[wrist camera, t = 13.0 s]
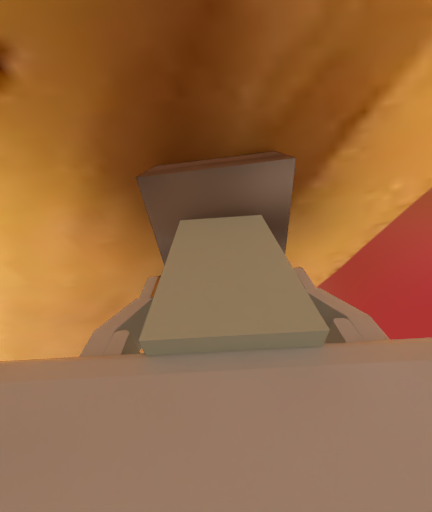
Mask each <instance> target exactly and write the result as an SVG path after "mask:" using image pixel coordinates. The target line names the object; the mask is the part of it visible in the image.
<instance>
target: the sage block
mask: <svg viewBox="0 0 432 512" xmlns="http://www.w3.org/2000/svg"><path fill="white" fill-rule="evenodd" d="M329 331H330V330H329V328H328V326H327V325H326V323H325V321H324V320H323V318H322V316H321V315H320V313H319V311H318V309H317V308H316V306H315V304H314V303H313V301H312V299H311V298H310V296H309V294H308V293H307V291H306V289H305V288H304V286H303V284H302V283H301V281H300V279H299V278H298V276H297V274H296V272H295V271H294V269H293V267H292V266H291V264H290V262H289V261H288V259H287V257H286V256H285V254H284V252H283V251H282V249H281V247H280V246H279V244H278V242H277V241H276V239H275V237H274V235H273V234H272V232H271V230H270V229H269V227H268V225H267V224H266V222H265V220H264V219H263V217H262V215H252V216H237V217H222V218H207V219H192V220H180V222H179V225H178V228H177V231H176V234H175V237H174V240H173V243H172V246H171V248H170V251H169V254H168V257H167V260H166V263H165V266H164V269H163V272H162V275H161V277H160V280H159V283H158V286H157V289H156V292H155V295H154V298H153V301H152V303H151V306H150V309H149V312H148V315H147V318H146V321H145V324H144V327H143V330H142V332H141V335H140V338H139V343H140V345H141V347H142V349H143V351H144V353H145V355H146V356H152V355H170V354H188V353H206V352H224V351H242V350H261V349H279V348H297V347H315V346H323V344H324V342H325V340H326V338H327V335H328V333H329Z"/></svg>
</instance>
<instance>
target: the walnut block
mask: <svg viewBox="0 0 432 512" xmlns="http://www.w3.org/2000/svg"><path fill="white" fill-rule="evenodd" d="M295 163H296V158H294V157H291V156H288V155H285V154H282V153H279V152H276V151H272V152H264V153H256V154H248V155H240V156H232V157H224V158H216V159H208V160H200V161H192V162H184V163H176V164H168V165H160V166H154V167H153V168H151V169H149V170H148V171H146V172H144V173H143V174H141V175H139V176H138V177H136V180H137V183H138V186H139V189H140V192H141V195H142V198H143V201H144V204H145V207H146V210H147V213H148V216H149V219H150V222H151V225H152V229H153V232H154V235H155V238H156V241H157V244H158V247H159V250H160V253H161V256H162V259H163V262H164V265H165V263H166V260H167V257H168V254H169V251H170V248H171V246H172V243H173V240H174V237H175V234H176V231H177V228H178V225H179V222H180V220H192V219H207V218H222V217H237V216H252V215H262V217H263V219H264V220H265V222H266V224H267V225H268V227H269V229H270V230H271V232H272V234H273V235H274V237H275V239H276V241H277V242H278V244H279V246H280V247H281V249H282V251H283V252H284V254H285V250H286V242H287V233H288V224H289V216H290V207H291V198H292V189H293V181H294V172H295Z"/></svg>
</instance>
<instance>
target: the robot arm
mask: <svg viewBox="0 0 432 512" xmlns="http://www.w3.org/2000/svg"><path fill="white" fill-rule="evenodd" d="M293 269H294V271H295V272H296V274H297V276H298V278H299V279H300V281H301V283H302V284H303V286H304V288H305V289H306V291H307V293H308V294H309V296H310V298H311V299H312V301H313V303H314V304H315V306H316V308H317V309H318V311H319V313H320V315H321V316H322V318H323V320H324V321H325V323H326V325H327V326H328V328H329V330H330V331H329V333H328V335H327V338H326V340H325V342H324V344H323V346H315V347H297V348H279V349H261V350H242V351H224V352H206V353H188V354H170V355H152V356H146V355H145V353H142V354H140V352H139V351H140V349H141V348H142V347H141V345H140V343H139V338H140V335H141V332H142V330H143V327H144V324H145V321H146V318H147V315H148V312H149V309H150V306H151V303H152V301H153V298H154V295H155V292H156V289H157V286H158V283H159V280H160V277H161V276H153V277H149V278H148V279H147V282H146V284H145V286H144V288H143V291H142V293H141V295H140V298H139V299H135V300H134V301H133V302H131V303H130V304H129V305H128V306H126V307H125V308H124V309H122V310H121V311H120V312H119V313H117V314H116V315H115V316H113V317H112V318H111V319H109V320H108V321H107V322H106V323H104V324H103V325H102V326H100V327H99V328H98V329H96V330H95V331H94V332H93V334H92V336H91V338H90V339H89V341H88V343H87V344H86V346H85V348H84V349H83V351H82V353H81V355H80V356H79V357H69V358H51V359H32V360H14V361H0V512H432V338H417V339H399V340H390V339H389V338H388V337H387V336H386V334H385V333H384V332H383V331H382V330H381V329H380V327H379V326H378V325H377V324H376V323H375V322H374V320H373V319H372V318H371V317H370V316H369V315H367V314H365V313H364V312H362V311H360V310H358V309H356V308H355V307H353V306H351V305H349V304H347V303H346V302H344V301H342V300H340V299H338V298H336V297H335V296H333V295H331V294H329V293H328V292H326V291H324V290H322V289H320V288H316V287H315V286H314V284H313V283H312V281H311V280H310V278H309V277H308V275H307V274H306V272H305V271H304V269H303V268H301V267H297V268H293Z"/></svg>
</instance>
